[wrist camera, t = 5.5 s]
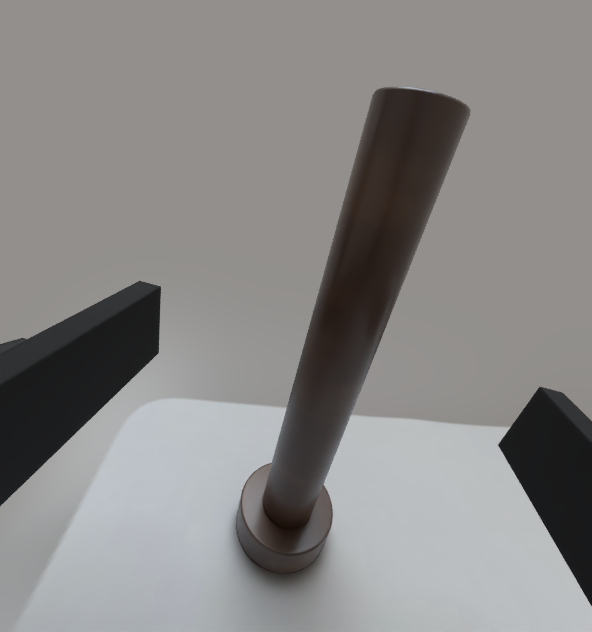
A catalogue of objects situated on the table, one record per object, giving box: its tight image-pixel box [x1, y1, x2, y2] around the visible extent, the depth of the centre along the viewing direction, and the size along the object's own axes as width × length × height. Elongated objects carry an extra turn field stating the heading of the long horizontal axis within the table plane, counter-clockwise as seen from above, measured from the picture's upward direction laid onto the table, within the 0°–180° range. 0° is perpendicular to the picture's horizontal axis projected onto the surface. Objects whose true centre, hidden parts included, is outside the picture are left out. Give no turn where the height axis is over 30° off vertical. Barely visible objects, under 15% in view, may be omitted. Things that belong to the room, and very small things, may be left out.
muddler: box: [236, 87, 470, 573], centre depth 11 cm, size 4×4×18 cm
